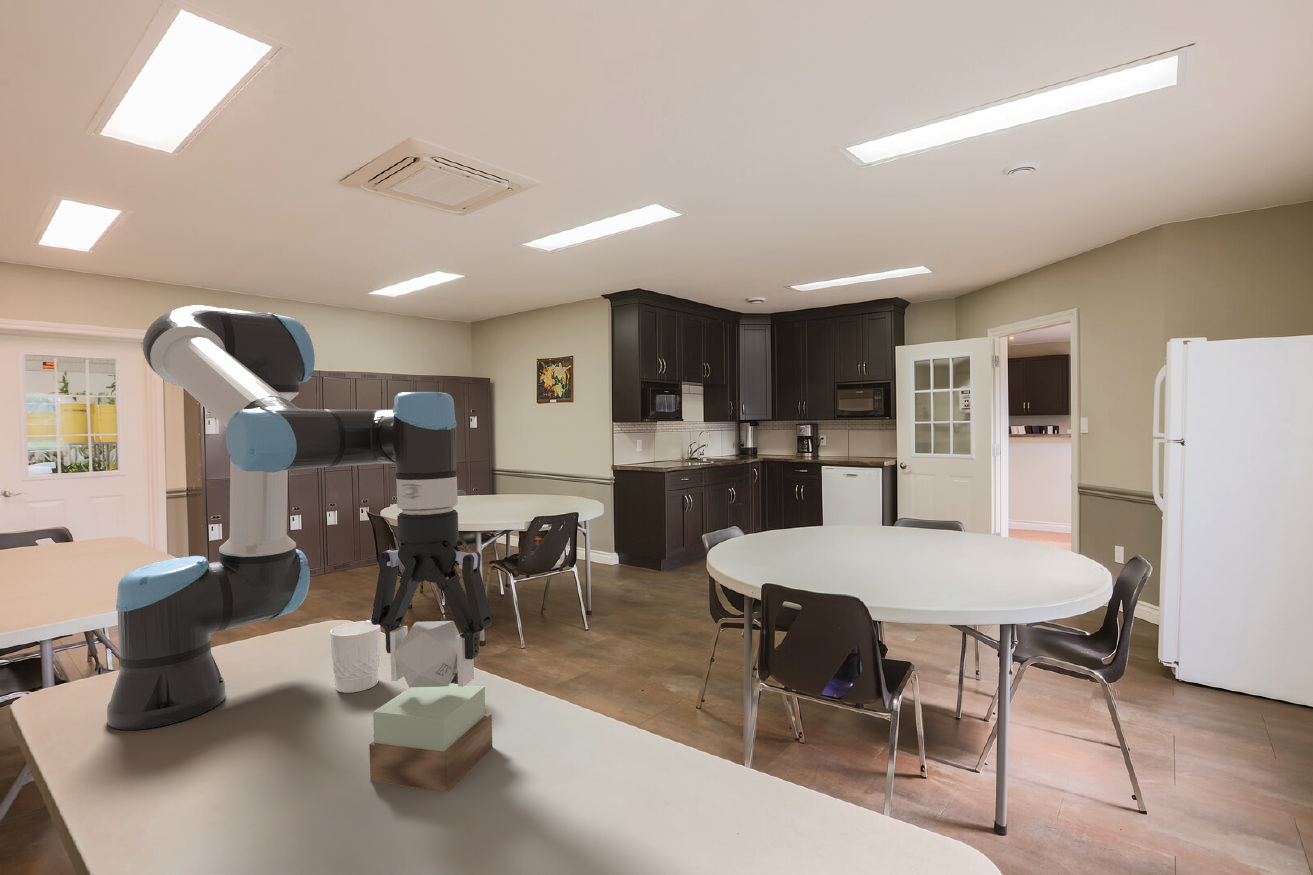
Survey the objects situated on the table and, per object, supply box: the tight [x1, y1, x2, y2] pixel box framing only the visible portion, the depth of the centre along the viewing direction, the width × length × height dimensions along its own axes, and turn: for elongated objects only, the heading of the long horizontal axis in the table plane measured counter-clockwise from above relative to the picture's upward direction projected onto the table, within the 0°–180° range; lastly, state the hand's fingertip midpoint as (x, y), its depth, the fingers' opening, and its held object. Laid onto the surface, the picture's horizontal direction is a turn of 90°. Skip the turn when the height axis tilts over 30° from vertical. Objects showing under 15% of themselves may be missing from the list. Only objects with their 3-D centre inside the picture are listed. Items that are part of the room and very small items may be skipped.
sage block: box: [372, 683, 486, 752], centre depth 85 cm, size 10×10×4 cm
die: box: [393, 620, 461, 688], centre depth 85 cm, size 8×9×10 cm
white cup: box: [329, 620, 381, 694], centre depth 111 cm, size 8×8×10 cm
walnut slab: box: [368, 712, 493, 793], centre depth 85 cm, size 11×11×5 cm
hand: (432, 679), depth 85 cm, fingers closed on die, 9 cm apart
